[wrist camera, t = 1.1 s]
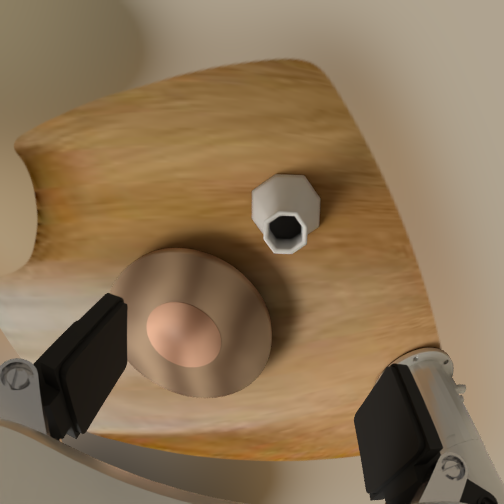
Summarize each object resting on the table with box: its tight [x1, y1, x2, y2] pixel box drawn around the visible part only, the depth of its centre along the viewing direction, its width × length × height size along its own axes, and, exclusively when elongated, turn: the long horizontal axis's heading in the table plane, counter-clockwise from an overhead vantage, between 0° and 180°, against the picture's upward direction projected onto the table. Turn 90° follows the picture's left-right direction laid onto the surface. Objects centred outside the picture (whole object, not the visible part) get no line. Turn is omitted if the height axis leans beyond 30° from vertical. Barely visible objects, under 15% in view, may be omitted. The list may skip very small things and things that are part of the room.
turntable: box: [110, 248, 272, 398], centre depth 33 cm, size 20×20×2 cm
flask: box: [252, 174, 321, 254], centre depth 25 cm, size 7×7×10 cm
